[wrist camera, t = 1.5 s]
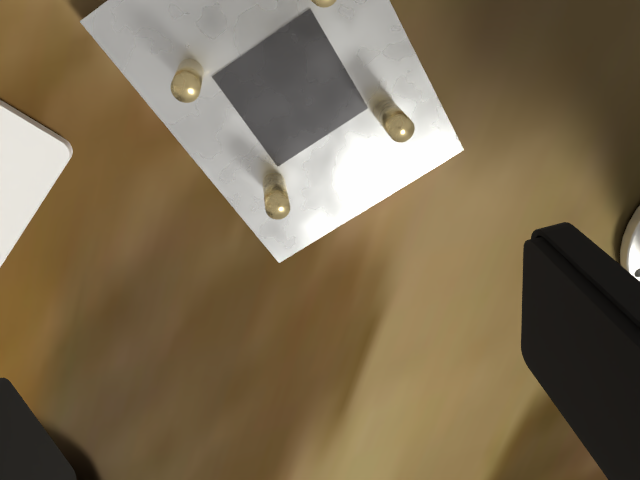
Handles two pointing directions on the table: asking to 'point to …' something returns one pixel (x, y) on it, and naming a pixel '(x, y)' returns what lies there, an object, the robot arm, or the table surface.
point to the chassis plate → (284, 103)
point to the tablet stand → (25, 171)
